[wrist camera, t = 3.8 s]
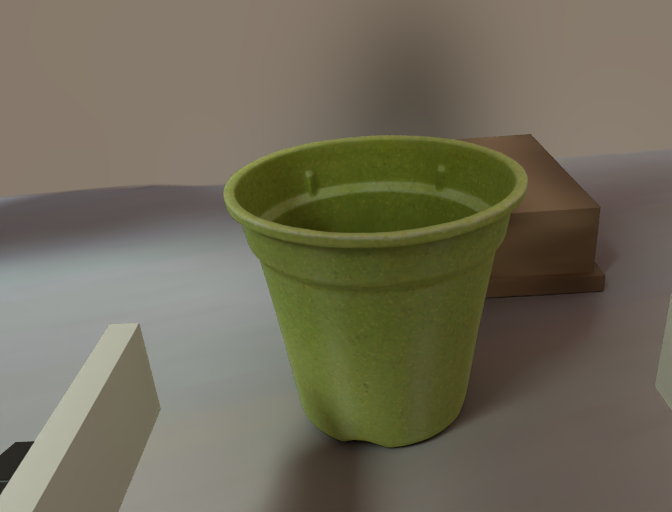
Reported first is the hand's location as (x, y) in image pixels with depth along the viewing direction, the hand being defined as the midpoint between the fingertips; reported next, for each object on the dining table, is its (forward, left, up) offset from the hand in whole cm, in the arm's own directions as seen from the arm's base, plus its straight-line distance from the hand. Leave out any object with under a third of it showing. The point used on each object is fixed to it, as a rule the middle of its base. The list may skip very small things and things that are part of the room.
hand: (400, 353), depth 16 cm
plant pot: (0, +6, -6) cm, 8 cm away
